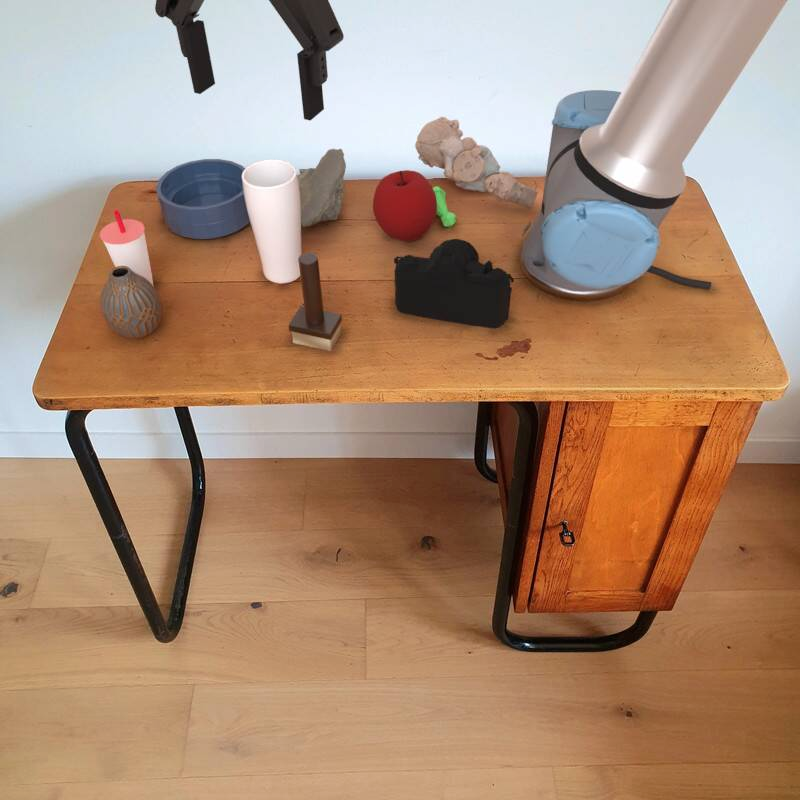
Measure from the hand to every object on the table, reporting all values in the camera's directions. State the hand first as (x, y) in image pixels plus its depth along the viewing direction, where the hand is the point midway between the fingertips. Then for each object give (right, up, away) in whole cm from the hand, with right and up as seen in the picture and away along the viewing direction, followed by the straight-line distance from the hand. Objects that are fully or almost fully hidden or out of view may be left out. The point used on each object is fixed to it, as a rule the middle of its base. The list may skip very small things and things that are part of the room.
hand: (258, 101), depth 81 cm
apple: (+16, -7, +30) cm, 34 cm away
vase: (-18, -22, +16) cm, 33 cm away
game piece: (+19, -2, +32) cm, 37 cm away
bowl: (-13, -4, +33) cm, 36 cm away
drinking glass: (-1, -14, +23) cm, 28 cm away
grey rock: (+2, -4, +33) cm, 34 cm away
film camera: (+22, -18, +19) cm, 34 cm away
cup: (-19, -17, +22) cm, 33 cm away
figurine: (+20, +10, +39) cm, 45 cm away
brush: (+5, -24, +14) cm, 28 cm away
